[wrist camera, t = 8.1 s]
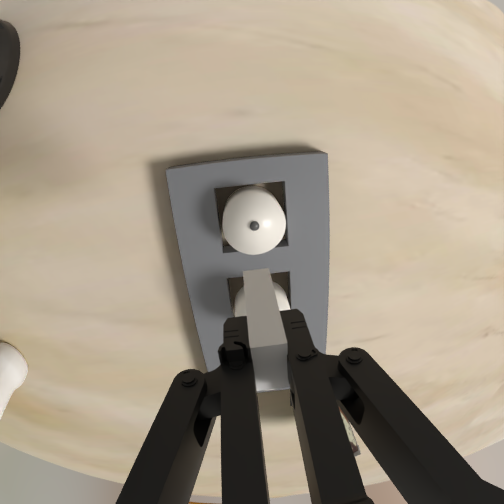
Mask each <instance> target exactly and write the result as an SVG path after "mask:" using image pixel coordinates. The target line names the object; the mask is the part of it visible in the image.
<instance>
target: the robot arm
mask: <svg viewBox="0 0 504 504" xmlns="http://www.w3.org/2000/svg"><path fill="white" fill-rule="evenodd" d="M19 59H20V42H19V37H18V34H17V31H16V29H15V28H14V27H13V25H11V24H10V23H9V22H6V21H3V20H0V109H1V107H2V106H3V104H4V102H5V101H6V99H7V97H8V95H9V93H10V91H11V88H12V86H13V83H14V81H15V77H16V74H17V70H18V65H19ZM243 279H244V291H245V302H246V313H247V316H240V317H231V318H227V320H226V321H225V323H224V324H223V344H222V345H221V346H220V347H219V349H218V355H219V360H220V364H221V365H220V366H219V367H218V368H216V369H215V370H213V371H210V372H207V373H204V374H203V373H202V372H200V371H199V370H195V369H188V370H184V371H182V372H180V373H179V374H177V376H176V377H175V378H174V380H173V382H172V384H171V386H170V388H169V391H168V393H167V395H166V397H165V399H164V401H163V403H162V405H161V407H160V409H159V412H158V414H157V416H156V418H155V420H154V422H153V424H152V426H151V428H150V431H149V433H148V435H147V437H146V439H145V441H144V443H143V445H142V448H141V450H140V452H139V454H138V456H137V458H136V460H135V463H134V465H133V467H132V469H131V471H130V473H129V476H128V478H127V480H126V482H125V484H124V486H123V489H122V491H121V493H120V495H119V497H118V499H117V502H116V504H188V503H189V500H190V497H191V494H192V491H193V488H194V485H195V482H196V479H197V476H198V473H199V470H200V467H201V463H202V460H203V457H204V454H205V451H206V448H207V445H208V442H209V439H210V436H211V432H212V429H213V426H214V423H215V420H216V416H219V415H221V477H222V504H270V500H269V491H268V483H267V475H266V466H265V458H264V449H263V441H262V432H261V423H260V414H259V405H258V397H257V391H262V390H270V389H278V388H285V387H289V386H290V402H291V406H292V407H293V411H294V416H295V421H296V426H297V431H298V436H299V441H300V446H301V451H302V456H303V461H304V466H305V471H306V476H307V481H308V487H309V492H310V497H311V502H312V504H374V502H373V501H372V499H370V498H369V497H368V496H367V495H366V492H365V489H364V486H363V482H362V479H361V476H360V473H359V469H358V466H357V463H356V460H355V457H354V453H353V450H352V447H351V444H350V441H349V438H348V435H347V431H346V428H345V425H344V422H343V419H342V416H341V413H340V410H339V408H340V409H341V410H342V412H343V413H344V415H345V416H346V418H347V419H348V420H349V422H350V423H351V425H352V426H353V428H354V429H355V430H356V432H357V433H358V435H359V436H360V437H361V439H362V440H363V442H364V443H365V444H366V446H367V447H368V449H369V450H370V452H371V453H372V454H373V456H374V457H375V459H376V460H377V461H378V463H379V464H380V466H381V467H382V468H383V470H384V471H385V473H386V474H387V475H388V477H389V478H390V480H391V481H392V482H393V484H394V485H395V486H396V488H397V489H398V490H399V492H400V493H401V495H402V496H403V497H404V499H405V500H406V501H407V503H408V504H504V490H503V489H501V488H498V487H496V486H494V485H492V484H490V483H488V482H486V481H484V480H482V479H481V478H480V477H479V476H478V474H477V473H476V472H475V471H474V470H473V469H472V468H471V467H470V465H469V464H468V463H467V462H466V461H465V460H464V459H463V457H462V456H461V455H460V454H459V453H458V452H457V451H456V450H455V448H454V447H453V446H452V445H451V444H450V443H449V442H448V441H447V439H446V438H445V437H444V436H443V435H442V434H441V433H440V432H439V431H438V429H437V428H436V427H435V426H434V425H433V424H432V423H431V422H430V421H429V419H428V418H427V417H426V416H425V415H424V414H423V413H422V412H421V411H420V409H419V408H418V407H417V406H416V405H415V404H414V403H413V402H412V401H411V400H410V398H409V397H408V396H407V395H406V394H405V393H404V392H403V391H402V390H401V389H400V387H399V386H398V385H397V384H396V383H395V382H394V381H393V380H392V379H391V378H390V377H389V375H388V374H387V373H386V372H385V371H384V370H383V369H382V368H381V367H380V366H379V365H378V364H377V362H376V361H375V360H374V359H373V358H372V357H371V356H370V355H369V354H368V353H367V352H366V351H365V350H363V349H360V348H353V347H352V348H347V349H345V350H343V351H342V352H341V353H340V355H339V356H335V355H326V354H323V353H321V352H319V350H318V349H317V348H315V346H314V344H313V341H312V338H311V335H310V332H309V329H308V327H307V323H306V320H305V318H304V315H303V313H302V312H300V311H299V310H298V309H290V310H283V311H279V307H278V303H277V299H276V295H275V291H274V287H273V283H272V279H271V275H270V271H269V268H265V269H257V270H248V271H243ZM338 406H339V407H338Z"/></svg>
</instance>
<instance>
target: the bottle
mask: <svg viewBox="0 0 504 504" xmlns="http://www.w3.org/2000/svg"><path fill="white" fill-rule="evenodd" d="M27 372H28V365H27V362H26V360H25V358H24V357H23V356H22V354H21V353H20V352H19V351H18V350H17V349H16V348H15V347H13V346H12V345H10V344H8V343H4V342H2V343H0V419H1V417H2V414H3V412H4V410H5V408H6V405H7V403H8V401H9V399H10V397H11V395H12V393H13V391H14V390H15V389H16V388H18V387H19V386H21V385H22V383H23V381H24V380H25V378H26V376H27Z"/></svg>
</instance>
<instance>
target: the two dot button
mask: <svg viewBox="0 0 504 504" xmlns="http://www.w3.org/2000/svg"><path fill="white" fill-rule="evenodd" d="M272 283H273V287H274V291H275V295H276V299H277V303H278V307H279V311H283V310H290V306H289V303H288V299H287V296H286V293H285V291H284V289H283V288H282V287H281V286H280V285H279V284H277V283H275V282H273V281H272ZM240 316H247V313H246V302H245V291H244V286H243V287H242V288H241V289H240V290H239V291H238V293H237V295H236V297H235V317H240Z"/></svg>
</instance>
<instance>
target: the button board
mask: <svg viewBox="0 0 504 504" xmlns="http://www.w3.org/2000/svg"><path fill="white" fill-rule="evenodd" d="M166 176H167V183H168V189H169V195H170V201H171V207H172V212H173V218H174V223H175V229H176V234H177V239H178V245H179V250H180V255H181V260H182V265H183V269H184V274H185V279H186V283H187V288H188V293H189V297H190V301H191V306H192V310H193V314H194V319H195V323H196V327H197V331H198V335H199V339H200V343H201V347H202V351H203V355H204V359H205V363H206V366H207V370H208V372H210V371H213V370H215V369H216V368H218V367H219V366H220V365H221V364H220V360H219V355H218V349H219V347H220V346H221V345H222V344H223V324H224V323H225V321H226V320H227V318H231V317H234V316H233V309H232V303H231V296H230V289H229V283H228V278H235V277H243V271H248V270H257V269H265V268H269V271H270V273H279V272H288V294H289V306H290V309H298V310H299V311H300V312H302V313H303V315H304V318H305V320H306V323H307V327H308V329H309V332H310V335H311V338H312V341H313V344H314V346H315V348H317V349H318V350H319V352H321V353H323V354H326V338H327V320H328V296H329V242H330V230H329V177H328V153H325V152H322V151H320V152H302V153H288V154H275V155H263V156H253V157H243V158H233V159H225V160H216V161H209V162H201V163H194V164H187V165H180V166H173V167H169V168H168V169H166ZM280 181H282V187H283V202H284V215H285V219H286V228H285V234H286V239H283V240H281V241H280V242H279V243H278V244H277V245H276V246H275V247H274V248H273V249H271V250H270V251H268V252H265V253H262V254H257V255H250V254H245V253H242V252H239V251H237V250H236V249H234V248H233V247H232V246H231V245H229V246H223V241H222V234H221V227H220V219H219V212H218V204H217V197H216V189H215V188H222V187H231V186H240V185H249V184H259V183H269V182H280ZM285 389H290V386H289V387H285V388H278V389H274V390H262V391H257V393H261V392H269V391H277V390H285Z"/></svg>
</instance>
